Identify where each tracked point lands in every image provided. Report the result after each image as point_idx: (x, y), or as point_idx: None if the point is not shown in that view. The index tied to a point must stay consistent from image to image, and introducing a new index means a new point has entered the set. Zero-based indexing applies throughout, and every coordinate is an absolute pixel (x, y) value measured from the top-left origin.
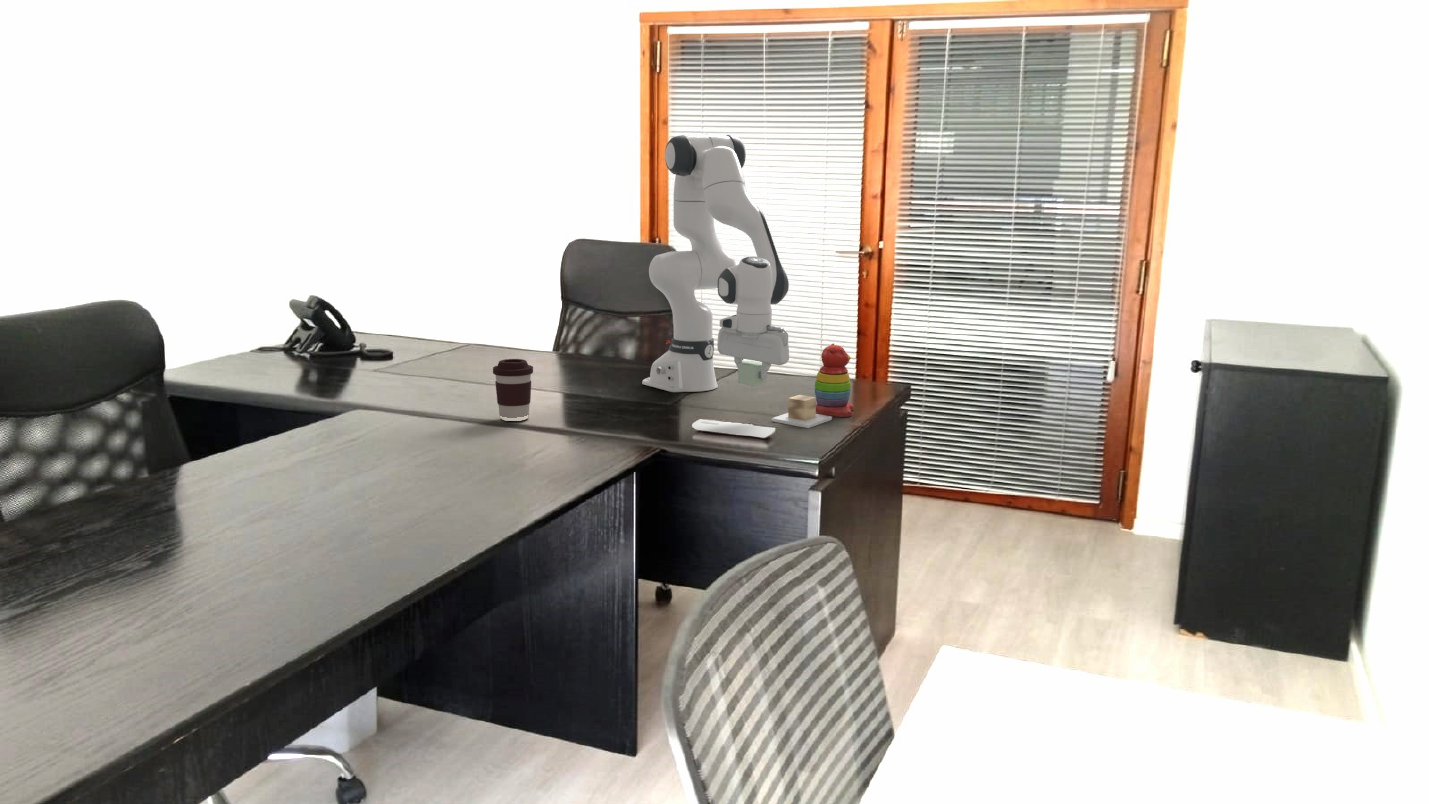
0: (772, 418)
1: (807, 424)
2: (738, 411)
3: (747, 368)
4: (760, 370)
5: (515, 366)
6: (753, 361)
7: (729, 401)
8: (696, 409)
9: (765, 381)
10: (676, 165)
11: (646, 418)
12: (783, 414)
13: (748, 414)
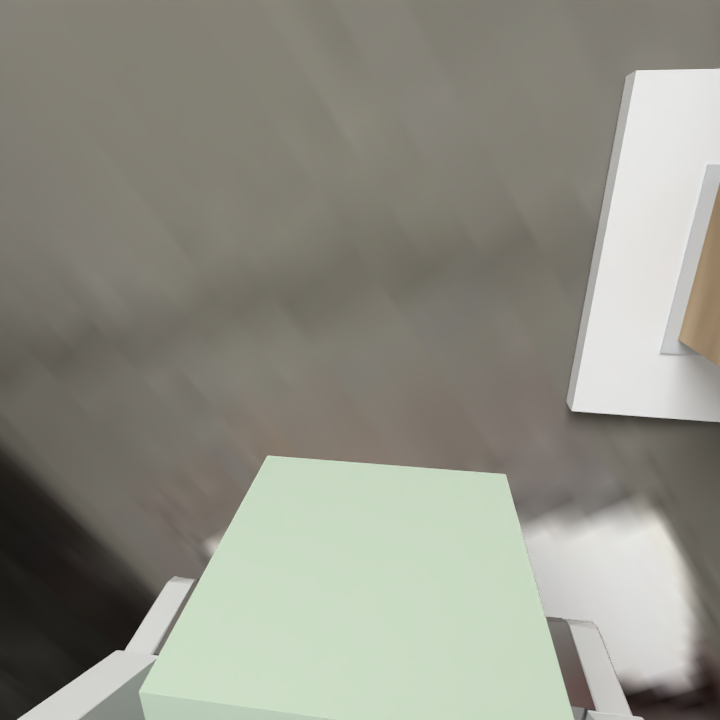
0: (576, 410)
1: None
2: (245, 306)
3: None
4: None
5: None
6: (231, 714)
7: (5, 94)
8: (53, 404)
9: (507, 488)
10: None
11: (53, 633)
12: (601, 276)
13: (341, 335)
